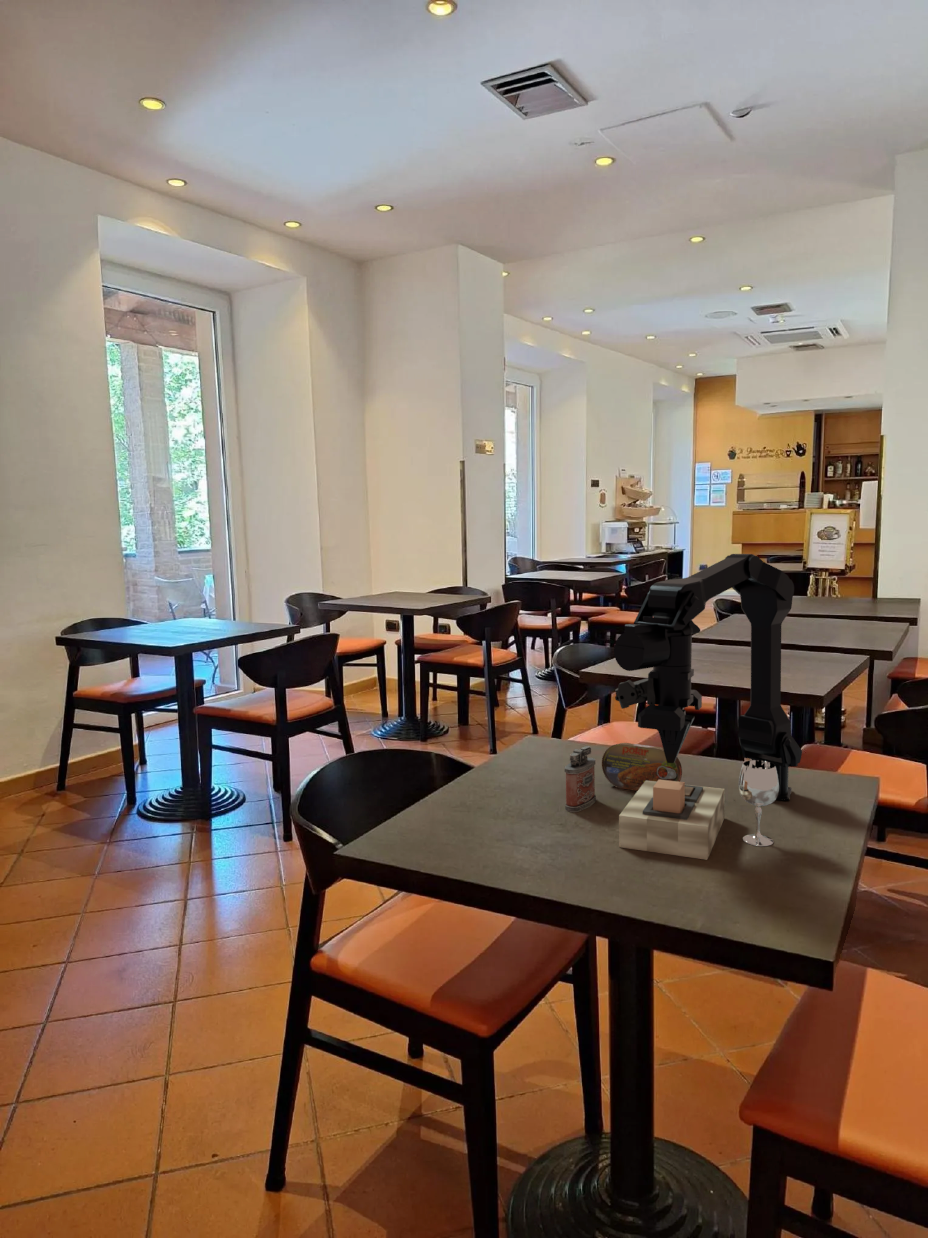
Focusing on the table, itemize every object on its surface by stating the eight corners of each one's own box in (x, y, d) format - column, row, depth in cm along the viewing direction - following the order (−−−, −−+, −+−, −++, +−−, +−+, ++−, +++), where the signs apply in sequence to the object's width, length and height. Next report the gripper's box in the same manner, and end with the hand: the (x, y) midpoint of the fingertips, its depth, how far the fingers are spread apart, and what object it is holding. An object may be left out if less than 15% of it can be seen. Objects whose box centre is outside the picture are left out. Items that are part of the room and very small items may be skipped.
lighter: (577, 813, 139) (577, 756, 137) (560, 809, 141) (559, 753, 139) (600, 800, 145) (599, 745, 144) (583, 796, 147) (582, 742, 146)
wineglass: (753, 850, 121) (754, 772, 120) (730, 836, 127) (731, 761, 125) (786, 845, 123) (787, 767, 121) (762, 831, 128) (763, 757, 127)
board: (645, 808, 140) (645, 777, 139) (724, 818, 134) (724, 786, 134) (619, 847, 124) (619, 812, 123) (707, 859, 118) (707, 823, 118)
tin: (601, 785, 153) (600, 741, 152) (608, 780, 156) (608, 737, 155) (677, 799, 144) (677, 752, 143) (684, 794, 147) (684, 748, 146)
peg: (658, 811, 128) (658, 779, 127) (684, 814, 126) (684, 782, 125) (653, 820, 124) (653, 787, 123) (679, 823, 122) (679, 790, 122)
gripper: (635, 652, 137) (634, 743, 139) (604, 669, 120) (603, 772, 122) (703, 656, 132) (701, 750, 134) (680, 674, 116) (678, 781, 117)
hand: (670, 762), depth 127 cm, fingers closed
